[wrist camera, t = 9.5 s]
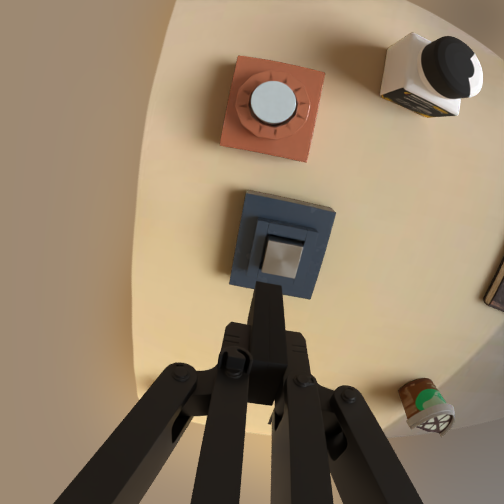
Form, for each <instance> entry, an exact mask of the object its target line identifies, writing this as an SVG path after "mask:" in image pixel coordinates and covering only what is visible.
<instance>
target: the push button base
mask: <svg viewBox="0 0 504 504" xmlns="http://www.w3.org/2000/svg"><path fill="white" fill-rule="evenodd" d="M335 215H336V212H335V211H334V210H333V209H332V208H330V207H326V206H321V205H317V204H313V203H308V202H304V201H299V200H295V199H290V198H286V197H281V196H276V195H271V194H266V193H261V192H256V191H251V190H247V192H246V195H245V200H244V205H243V211H242V216H241V221H240V227H239V232H238V238H237V243H236V248H235V254H234V259H233V265H232V271H231V276H230V282H229V284H230V285H235V286H240V287H245V288H251V289H255V284H256V281H259V282H264V283H270V284H275V285H281V286H282V294H283V295H288V296H294V297H299V298H305V299H311V296H312V293H313V290H314V287H315V284H316V281H317V277H318V274H319V271H320V268H321V264H322V261H323V258H324V254H325V251H326V247H327V244H328V240H329V237H330V233H331V230H332V226H333V222H334V219H335ZM269 235H270V236H275V237H280V238H285V239H290V240H295V241H300V242H302V245H303V250H302V254H301V258H300V262H299V265H298V269H297V272H296V276H295V278H289V277H284V276H279V275H273V274H268V273H263V272H262V262H263V258H264V253H265V249H266V244H267V240H268V236H269Z"/></svg>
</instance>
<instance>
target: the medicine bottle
mask: <svg viewBox="0 0 504 504" xmlns="http://www.w3.org/2000/svg"><path fill="white" fill-rule="evenodd" d="M482 83H483V72H482V68H481V65H480V62H479V60H478V58H477V56H476V55H475V53H474V52H473V51H472V50H471V48H470V47H469V46H467V45H466V44H465V43H464V42H462V41H461V40H459V39H457V38H455V37H451V36H444V37H441V38H439V39H437V40H435V41H433V42H431V41H429V40H427V39H426V38H424V37H422V36H420V35H418V34H416V33H413V32H412V33H410V34H408V35H407V36H405V37H404V38H402V39H401V40H399V41H398V42H396V43H395V44H393V45H392V46H391V47H389V48H388V49H387V55H386V62H385V68H384V74H383V79H382V85H381V90H380V97H381V98H384V99H386V100H389V101H391V102H394V103H396V104H398V105H401V106H403V107H405V108H408V109H410V110H412V111H414V112H416V113H418V114H421V115H423V116H425V117H427V118H429V117H443V116H457V115H458V114H459V109H460V102H461V98H468V97H473V96H475V95H477V94H478V93H479V91H480V90H481V87H482Z"/></svg>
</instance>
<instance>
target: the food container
mask: <svg viewBox="0 0 504 504" xmlns="http://www.w3.org/2000/svg"><path fill="white" fill-rule="evenodd" d="M398 392H399V395H400V398H401V401H402V404H403V407H404V410H405V413H406V416H407V419H408V420H406V421H407V423H408V425H409V427H410V428H411V430H413V429H414V428H415V427H417V428H420V429H423V430H425V431H427V432H437V433H439V434H440V436H441V437H442V436H443V435H445V434H446V433H447V432H448V431H449V430H450V428H451V427H452V426H453V424H454V422H455V412H454V408H453V406H452V405H451V404H448V403H446V402H445V400H444V399H443V397H442V396H441V394H440V392H439V391H438V389H437V388H436V386H435V385H434V384H433V382H432V381H431V380H430V379H428V378H421V379H417V380H414V381H412V382H410V383H408V384H406V385H404V386H403V387H401V388H400V389H399V390H398Z"/></svg>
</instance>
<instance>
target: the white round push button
mask: <svg viewBox="0 0 504 504" xmlns="http://www.w3.org/2000/svg"><path fill="white" fill-rule="evenodd" d="M251 107H252V109H253V112H254V114H255V115H256V117H257V118H258V119H259V120H261V121H262V122H264V123H267V124H280V123H282V122H284V121H286V120H287V119H288V118H289V117H290V116H291V115H292V114H293V112H294V110H295V107H296V98H295V95H294V93H293V91H292V90H291V89H290V88H289V87H288V86H287V85H286V84H284V83H281V82H278V81H268V82H265V83H262V84H260V85H259V86H258V87H257V88H256V89H255V90H254V92H253V94H252V96H251Z"/></svg>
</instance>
